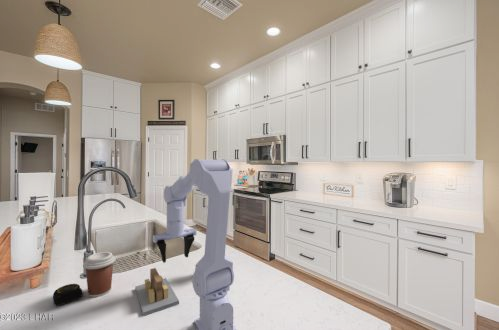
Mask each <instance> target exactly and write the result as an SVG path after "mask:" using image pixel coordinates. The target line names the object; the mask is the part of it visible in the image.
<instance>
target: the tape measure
mask: <svg viewBox="0 0 499 330" xmlns="http://www.w3.org/2000/svg"><path fill="white" fill-rule="evenodd" d="M83 295H84V294H83V289H82V288H81V286H80V284H78V283H69V284H66V285H63V286H60V287H58V288H57V289H55V290H54V291H53V293H52V301H53V305H54V306H57V307H58V306H61V305H64V304H67V303H71V302H73V301H75V300H79V299H82V297H83Z"/></svg>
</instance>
